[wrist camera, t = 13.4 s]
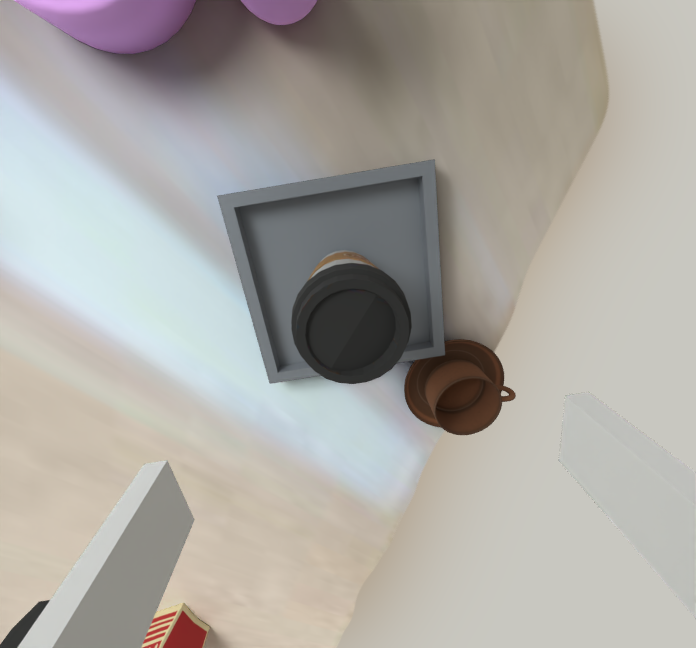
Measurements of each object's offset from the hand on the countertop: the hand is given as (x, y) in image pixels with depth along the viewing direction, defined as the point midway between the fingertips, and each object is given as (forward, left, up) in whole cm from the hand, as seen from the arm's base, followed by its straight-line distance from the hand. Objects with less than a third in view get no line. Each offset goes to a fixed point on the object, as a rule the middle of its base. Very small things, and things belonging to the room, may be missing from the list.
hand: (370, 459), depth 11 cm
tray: (0, 0, -27) cm, 27 cm away
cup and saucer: (+15, +11, -27) cm, 33 cm away
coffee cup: (0, 0, -26) cm, 26 cm away
